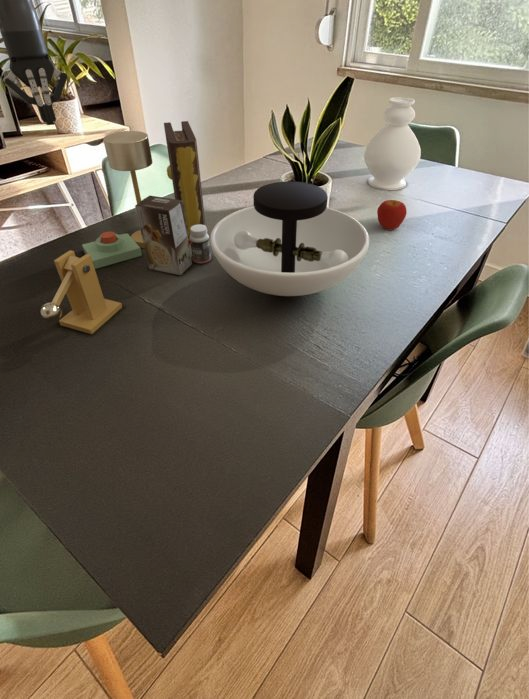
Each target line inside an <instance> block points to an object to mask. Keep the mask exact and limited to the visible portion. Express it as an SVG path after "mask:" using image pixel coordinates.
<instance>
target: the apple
mask: <svg viewBox="0 0 529 699" xmlns="http://www.w3.org/2000/svg"><path fill="white" fill-rule="evenodd" d="M376 213H377V214H376V216H377V221H378V224H379V226H380V227H381V228H382V229H384V230H388V231H393V230H396V229H398V228H400V226H401V225H402V224H403V222H404V221H405V219H406V216H407V206H406V205H405V203H404V202H402V201H400V200H395V199H387V200H384V201H382V202H381V203H380V204H379V206H378V207H377V211H376Z"/></svg>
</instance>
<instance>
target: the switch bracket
mask: <svg viewBox="0 0 529 699" xmlns="http://www.w3.org/2000/svg"><path fill="white" fill-rule="evenodd" d="M70 256H74V257H77V256H76V254H75V251H74V250H68V251H67V252H65V253H63V254H61V255H60V256H59V257H57V258H55V259H54V260H53V262H54V265H55V268H56V270H57V273H58V276H59V278H60V281H61V282H62V281H63V279H64V277H65V276H66V274H67V272H68V271H67V270H66V269H64V266H65V264H66V262H67V260H68V259H69V257H70ZM79 258H80V259H78V260H77V261H75V262H74V263H72V264H71V267H72V270H73V273H74V278H73V280H72V282H71V284H70V286H69V288H68V290H67V292H66V294H65V295H66V297H67V299H68V303H69V305H70V308H71V310H70V311H69V312H68V313H67V314H66V315H63V317H62V318H60V319H58V322H59V325H60V326H61V327H66V328H69V329H72V330H75V331H77V332H78V331H79V332H82V333H85V334H88V335H93V334H94V333H95V332H96V331H98V330H99V329H100V328H101V327H102V326H103V325H104V324H106V323H107V322H108V321H109V320H110V319H111V318H112V317H114V315H115V314H117V313H118V312H119V311H120V310H121V309H122V308H123V305H122V302H119V301H115V300H112V299H107V298H105V297H104V295H103V291H102V288H101V284H100V281H99V278H98V275H97V272H96V269H95V268H94V265H93V261H92V258H91V255H89V254H84V255H83V256H81V257H79Z"/></svg>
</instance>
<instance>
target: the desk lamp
mask: <svg viewBox="0 0 529 699" xmlns="http://www.w3.org/2000/svg"><path fill="white" fill-rule="evenodd" d="M102 141H103V144H104V149H105V154H106V156H107V160H108V166H109V168H110V169H112V170H114V171H119V172H130V175H131V176H130V177H131V181H132V187H133V192H134V196H135V201H136V205H137V204H138V203H140V201H142V198H141V197H142V196H141V192H140V186H139V183H138V178H137V173H136V172H137V171H139V170H144V169H146V168H148V167H150V166H152V164H153V157H152V151H151V144H150V141H149V135H148V133H146V132H144V131H139V130H123V131H116V132H113V133H109V134H107V135H105V136H103V138H102ZM130 237H131V238H132V239H133V240H134V241H135V242H136V244H137V245H138V246H139V247H140V248H141V249H145V247H144V243H143V239H142V234H141V230H140V229H139V230H136V231H134V232H133V233H132V234H131V235H130Z"/></svg>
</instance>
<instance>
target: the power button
mask: <svg viewBox="0 0 529 699" xmlns="http://www.w3.org/2000/svg"><path fill="white" fill-rule="evenodd" d="M115 234H116V232H114V231H104V232H102V233H101V234H100V235H99V237H101V240H102V243H104V244H110V243H114V242H115V241H117V239H116V235H115Z"/></svg>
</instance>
